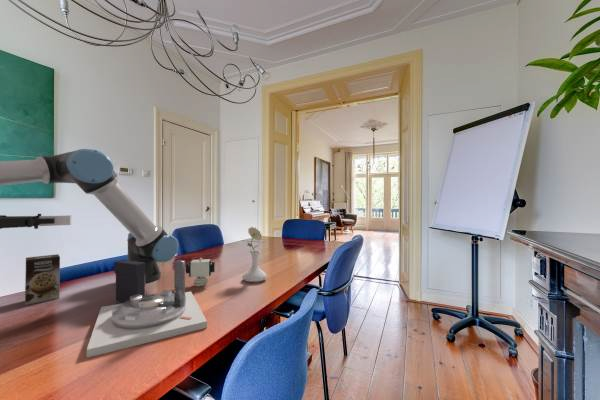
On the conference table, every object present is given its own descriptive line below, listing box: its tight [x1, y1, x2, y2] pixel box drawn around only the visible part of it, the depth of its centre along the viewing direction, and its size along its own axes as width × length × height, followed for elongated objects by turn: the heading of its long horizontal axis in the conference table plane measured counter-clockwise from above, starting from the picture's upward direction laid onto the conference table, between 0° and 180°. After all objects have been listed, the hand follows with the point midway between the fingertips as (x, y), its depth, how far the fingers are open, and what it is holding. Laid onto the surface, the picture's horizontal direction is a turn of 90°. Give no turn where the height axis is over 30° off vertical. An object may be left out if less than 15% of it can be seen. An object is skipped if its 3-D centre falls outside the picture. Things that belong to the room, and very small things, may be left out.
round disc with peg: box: [112, 259, 186, 329], centre depth 81 cm, size 20×20×16 cm
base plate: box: [86, 291, 208, 358], centre depth 81 cm, size 28×28×2 cm
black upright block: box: [113, 259, 146, 304], centre depth 95 cm, size 11×4×15 cm, turn 71°
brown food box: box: [24, 253, 61, 306], centre depth 96 cm, size 9×6×16 cm
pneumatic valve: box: [185, 257, 216, 287], centre depth 114 cm, size 6×12×12 cm, turn 101°
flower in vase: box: [242, 226, 268, 283], centre depth 122 cm, size 13×11×25 cm
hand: (70, 220), depth 75 cm, fingers closed
